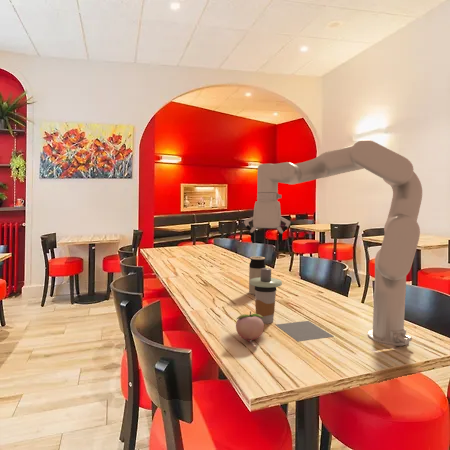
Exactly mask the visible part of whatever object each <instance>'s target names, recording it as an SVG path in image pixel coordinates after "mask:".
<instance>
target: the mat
mask: <svg viewBox="0 0 450 450" xmlns="http://www.w3.org/2000/svg"><path fill="white" fill-rule="evenodd" d="M275 326H277V328H279V329H280V330H282V331H283V332H284V333H286V335H288V336H290V337H291V338H292V339H294V340H295V341H296V342H303V341H304V342H305V341H311V340H319V339H325V338H334V337H335V336H334V335H333V334H331V333H329V332H328V331H327V330H324V329H323V328H322V327H319V326H318V325H316V324H314V323H313V322H311V321H310V320H303V321H294V322H287V323H286V322H285V323H277V324H275Z"/></svg>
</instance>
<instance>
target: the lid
mask: <svg viewBox="0 0 450 450" xmlns="http://www.w3.org/2000/svg"><path fill="white" fill-rule="evenodd" d="M250 284H251V285H253V286H257V287H267V288H270V287H276V288H277V287H281V286H282V285H283V281H282V280H281V279H279V278H275V277H274V278H273V277H272V268H269V267H266V268H261V277H259V278H253V279H250Z"/></svg>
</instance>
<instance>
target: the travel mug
mask: <svg viewBox="0 0 450 450" xmlns="http://www.w3.org/2000/svg"><path fill="white" fill-rule="evenodd" d="M249 258H250V262H249V266H248V267H249V268H248V272H249V273H248V279H249V280H248V281H249V282H248V292H249V294H250V295H255V286H253V285H251V284H250V279H253V278H259V277H261V268H267V267H266V262H265V261H266V257H264V256H259V255H258V256H257V255H256V256H255V255H253V256H250V257H249Z"/></svg>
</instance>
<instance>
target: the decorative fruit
mask: <svg viewBox="0 0 450 450" xmlns="http://www.w3.org/2000/svg"><path fill="white" fill-rule="evenodd" d="M260 317H262V316H261V315H259V314H256V313H252V311H249V314H245V313H244V314H243V313H242V314H240V315H239V316H238V317H236V323H235V330H236V332H237V334H238V336H240V338H242V339H243V340H245V341H248V342H251V341H254V340H256V339H259V338H260V337H261V335H262V334H263V332H264V329H265V323H263V321H262V319H261V318H260ZM262 318H263V317H262Z"/></svg>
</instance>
